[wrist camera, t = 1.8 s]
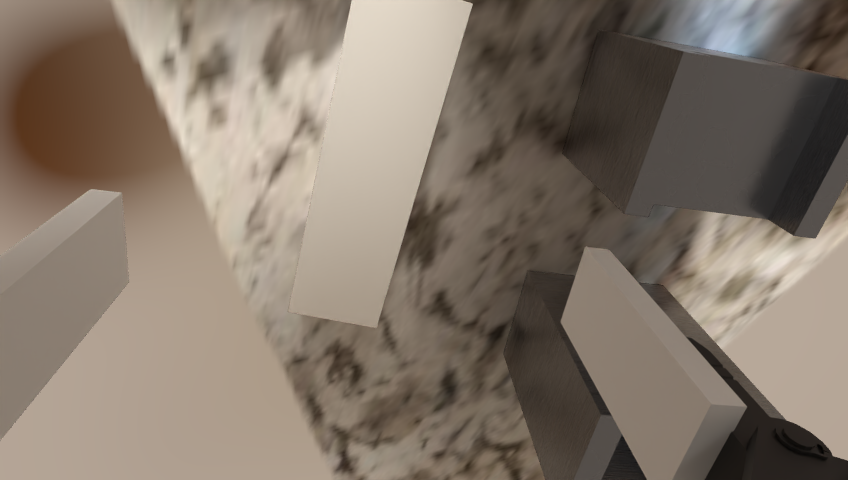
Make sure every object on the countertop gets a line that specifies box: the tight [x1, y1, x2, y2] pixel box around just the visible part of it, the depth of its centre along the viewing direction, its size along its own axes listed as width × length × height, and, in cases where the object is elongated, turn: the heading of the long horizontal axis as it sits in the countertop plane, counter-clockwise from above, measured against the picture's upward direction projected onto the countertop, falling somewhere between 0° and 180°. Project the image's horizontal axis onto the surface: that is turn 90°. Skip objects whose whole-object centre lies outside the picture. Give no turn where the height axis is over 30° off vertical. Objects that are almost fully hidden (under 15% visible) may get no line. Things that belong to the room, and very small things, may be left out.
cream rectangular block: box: [288, 0, 473, 328], centre depth 23 cm, size 14×4×6 cm, turn 164°
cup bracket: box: [504, 271, 785, 480], centre depth 27 cm, size 6×8×11 cm
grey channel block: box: [562, 30, 848, 238], centre depth 23 cm, size 6×8×8 cm
